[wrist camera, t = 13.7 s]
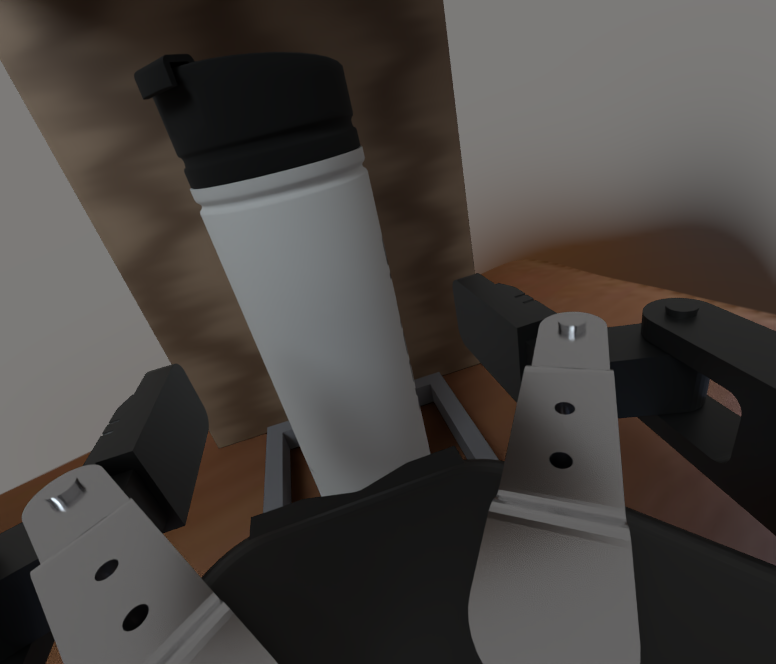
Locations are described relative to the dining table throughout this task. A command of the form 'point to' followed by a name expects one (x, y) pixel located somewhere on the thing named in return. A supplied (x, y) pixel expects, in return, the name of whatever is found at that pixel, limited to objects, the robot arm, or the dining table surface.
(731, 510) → the dining table surface
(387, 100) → the overhang shelf
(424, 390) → the seat frame
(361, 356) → the travel mug
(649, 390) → the robot arm
